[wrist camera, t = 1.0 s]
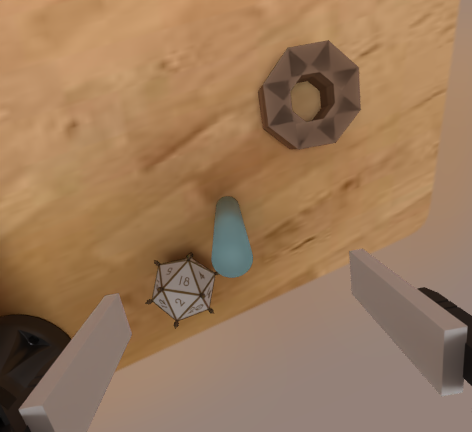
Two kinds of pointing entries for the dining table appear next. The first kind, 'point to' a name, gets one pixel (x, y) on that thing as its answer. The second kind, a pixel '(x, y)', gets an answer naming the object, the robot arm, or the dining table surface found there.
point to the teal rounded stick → (230, 240)
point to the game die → (183, 288)
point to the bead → (331, 91)
